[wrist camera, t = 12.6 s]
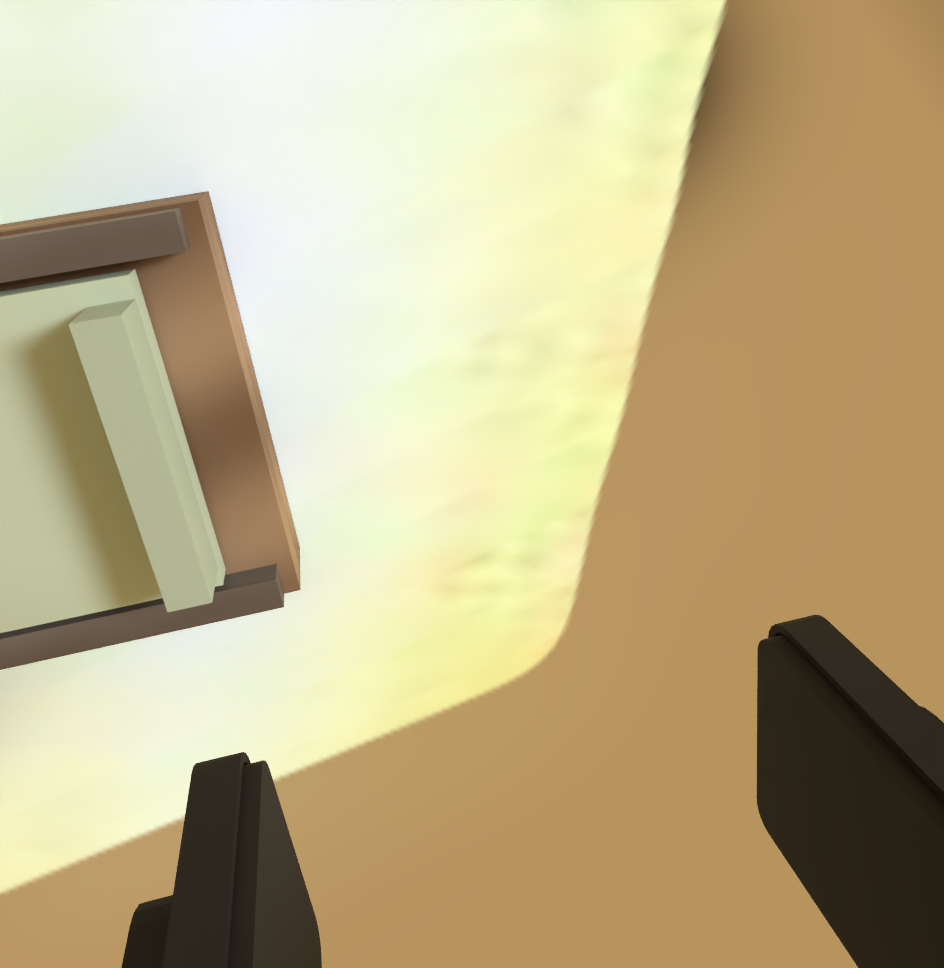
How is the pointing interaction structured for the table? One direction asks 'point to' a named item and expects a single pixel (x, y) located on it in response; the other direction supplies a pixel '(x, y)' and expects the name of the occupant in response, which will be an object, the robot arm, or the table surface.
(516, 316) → the table surface
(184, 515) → the lid
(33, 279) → the puzzle board
